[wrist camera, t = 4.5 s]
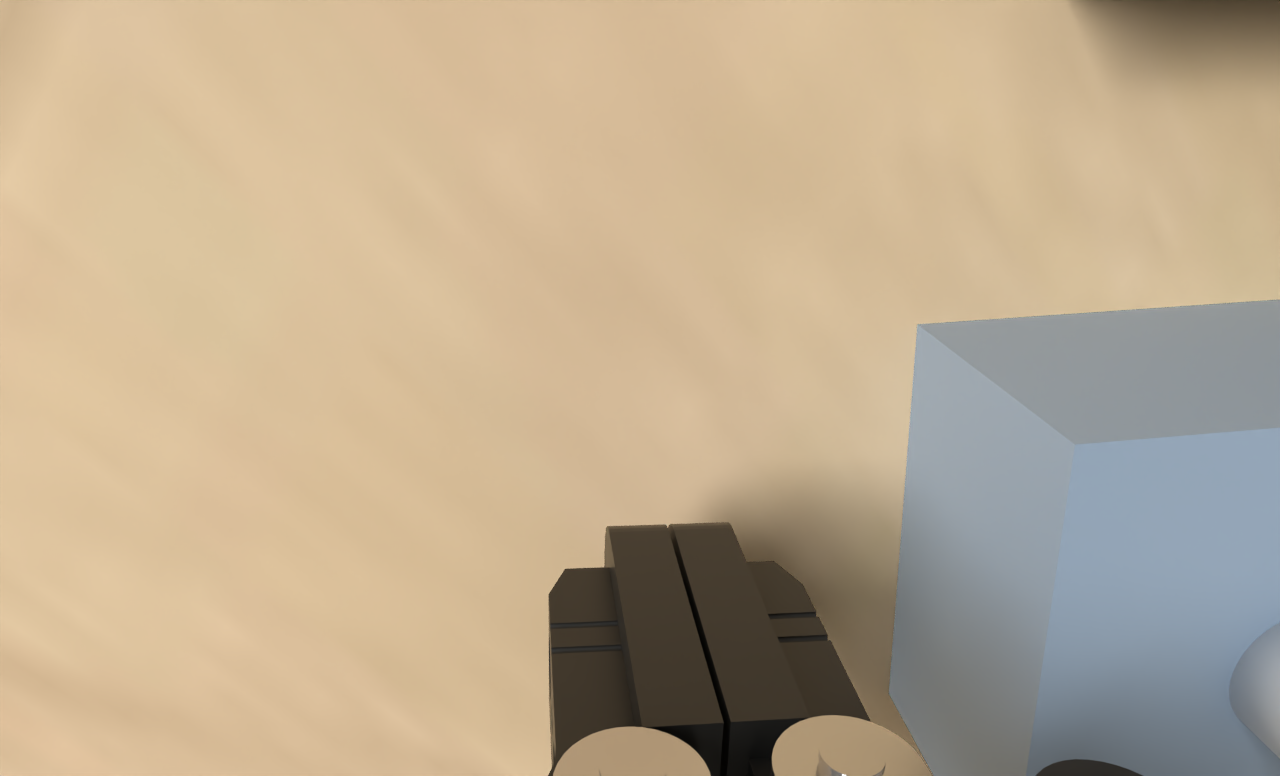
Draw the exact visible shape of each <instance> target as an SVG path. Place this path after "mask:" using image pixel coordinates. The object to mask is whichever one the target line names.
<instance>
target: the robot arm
mask: <svg viewBox="0 0 1280 776" xmlns="http://www.w3.org/2000/svg"><path fill="white" fill-rule="evenodd" d="M549 706H550V731H551V757H552V769H551V771H550V773H549V775H548V776H933V775H932V773H931V772H930V770H929V769H928V767H927V766H926V764H925V762H924V761H923V759H922V758H921V757H920V755H919V754H918V753H917V752H916V750H915V749H914V748H913V747H912V746H911V745H910V744H908V743H907V742H906V741H905V740H904V739H902V738H901V737H900V736H898V735H897V734H895V733H893V732H892V731H890V730H888V729H886V728H885V727H882V726H880V725H878V724H875V723H873V722H871V721H870V719H869V717H868V715H867V713H866V711H865V709H864V707H863V705H862V703H861V701H860V699H859V697H858V695H857V693H856V691H855V689H854V687H853V685H852V683H851V681H850V679H849V677H848V675H847V673H846V671H845V669H844V667H843V665H842V663H841V661H840V659H839V657H838V655H837V653H836V651H835V649H834V647H833V645H832V643H831V641H828V639H827V633H826V631H825V629H824V627H823V625H822V623H821V621H820V619H819V617H816V611H815V609H814V607H813V605H812V603H811V601H810V599H809V597H808V595H807V593H806V591H805V589H804V587H803V585H802V584H801V583H800V582H799V581H798V580H796V579H795V578H794V577H793V576H791V575H790V574H789V573H788V572H787V571H785V570H784V569H783V568H782V567H780V566H779V565H778V564H777V563H775V562H774V561H765V562H746V560H745V558H744V555H743V553H742V551H741V548H740V546H739V543H738V541H737V539H736V536H735V534H734V531H733V529H732V527H731V525H730V524H729V523H695V524H670V525H669V527H668V528H667V526H666V525H637V526H607V528H606V534H605V566H604V568H577V569H565V570H564V572H563V573H562V575H561V576H560V578H559V579H558V581H557V582H556V584H555V585H554V587H553V589H552V590H551V592H550V593H549ZM1036 776H1143V775H1141V774H1138V773H1136V772H1134V771H1132V770H1129V769H1126V768H1123V767H1121V766H1118V765H1114V764H1110V763H1106V762H1102V761H1095V760H1085V759H1073V760H1064V761H1060V762H1056V763H1053V764H1051V765H1049V766H1047V767H1045V768H1043V769H1042V770H1041V771H1040V772H1039V773H1037V774H1036Z"/></svg>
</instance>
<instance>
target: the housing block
mask: <svg viewBox="0 0 1280 776" xmlns="http://www.w3.org/2000/svg"><path fill="white" fill-rule="evenodd" d="M889 695H890V697H891V699H892V701H893V702H894V704H895V706H896V708H897V710H898V712H899V713H900V715H901V717H902V719H903V721H904V723H905V724H906V726H907V728H908V730H909V732H910V734H911V735H912V737H913V739H914V741H915V743H916V745H917V746H918V748H919V750H920V752H921V754H922V756H923V757H924V759H925V761H926V763H927V765H928V766H929V768H930V770H931V772H932V774H933V776H1036V774H1037V773H1039V772H1040V771H1041V770H1042V769H1043V768H1045V767H1047V766H1049V765H1051V764H1053V763H1056V762H1060V761H1064V760H1073V759H1085V760H1095V761H1102V762H1106V763H1110V764H1114V765H1118V766H1121V767H1123V768H1126V769H1129V770H1132V771H1134V772H1136V773H1138V774H1141V775H1143V776H1280V300H1267V301H1252V302H1238V303H1223V304H1209V305H1194V306H1180V307H1165V308H1150V309H1136V310H1121V311H1107V312H1092V313H1077V314H1063V315H1048V316H1034V317H1019V318H1005V319H990V320H975V321H961V322H946V323H932V324H918V325H917V338H916V351H915V364H914V376H913V389H912V402H911V415H910V428H909V440H908V453H907V466H906V479H905V492H904V504H903V517H902V530H901V543H900V556H899V568H898V581H897V594H896V607H895V620H894V632H893V645H892V658H891V671H890V683H889Z"/></svg>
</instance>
